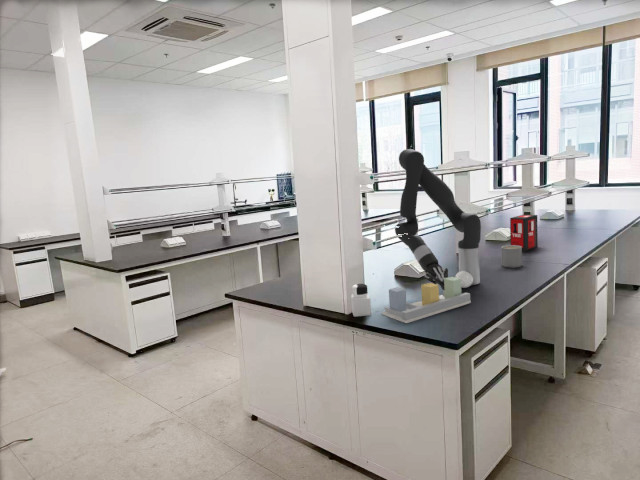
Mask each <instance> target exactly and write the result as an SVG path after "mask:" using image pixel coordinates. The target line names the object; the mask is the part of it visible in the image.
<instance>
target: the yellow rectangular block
mask: <svg viewBox="0 0 640 480" xmlns="http://www.w3.org/2000/svg"><path fill="white" fill-rule="evenodd" d="M420 286H421V287H420V289H421V301H422V306H423V305H426V304H429V303H433V302H436V301H439V296H440V291H439V290H440V288H439V287H440V285H439V284H434V283H432V282H427V283H424V284H421V285H420Z"/></svg>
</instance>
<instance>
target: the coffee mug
mask: <svg viewBox="0 0 640 480" xmlns="http://www.w3.org/2000/svg"><path fill="white" fill-rule="evenodd" d="M501 266H502V267H505V268H520V267H522V266H523V251H522V247H521V246H517V245H511V244H509V245H503V246H501Z"/></svg>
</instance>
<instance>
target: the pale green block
mask: <svg viewBox="0 0 640 480" xmlns="http://www.w3.org/2000/svg"><path fill="white" fill-rule="evenodd" d="M444 290H445V299H446V298H449V297H453V296H456V295H460V294H462V287H461V278H456V277H455V276H448V278H445V279H444ZM444 290H443V291H444Z"/></svg>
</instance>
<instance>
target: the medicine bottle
mask: <svg viewBox="0 0 640 480" xmlns="http://www.w3.org/2000/svg"><path fill="white" fill-rule="evenodd" d="M351 290H352V294H351V295H350V302H351V312H352V315H353V317H355V318H356V317H364V316H365V317H366V316H372V305H371V301H372V300H371V298H370V295H369V294H368V285H367V284H365V283H357V284H354V285H352V289H351Z"/></svg>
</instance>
